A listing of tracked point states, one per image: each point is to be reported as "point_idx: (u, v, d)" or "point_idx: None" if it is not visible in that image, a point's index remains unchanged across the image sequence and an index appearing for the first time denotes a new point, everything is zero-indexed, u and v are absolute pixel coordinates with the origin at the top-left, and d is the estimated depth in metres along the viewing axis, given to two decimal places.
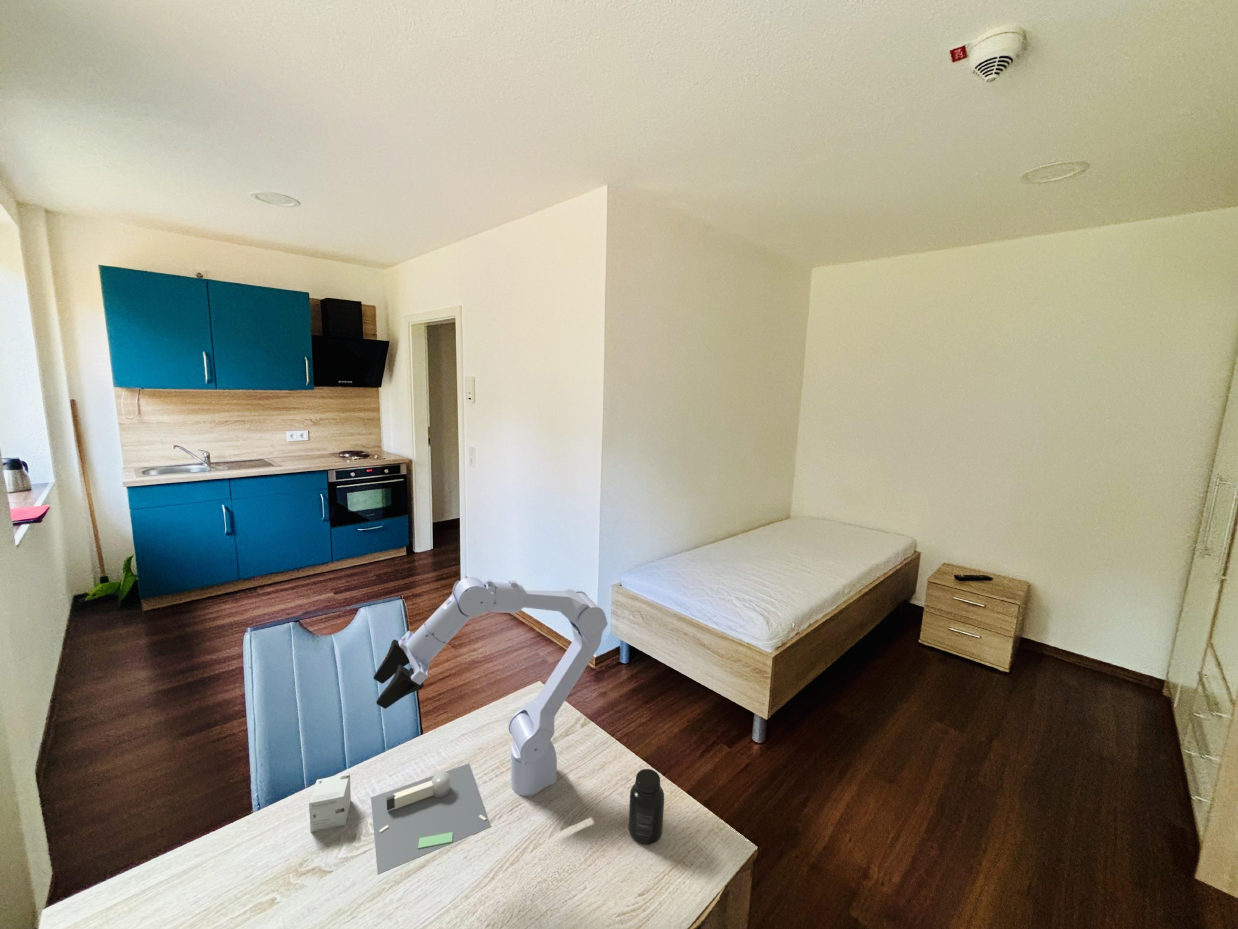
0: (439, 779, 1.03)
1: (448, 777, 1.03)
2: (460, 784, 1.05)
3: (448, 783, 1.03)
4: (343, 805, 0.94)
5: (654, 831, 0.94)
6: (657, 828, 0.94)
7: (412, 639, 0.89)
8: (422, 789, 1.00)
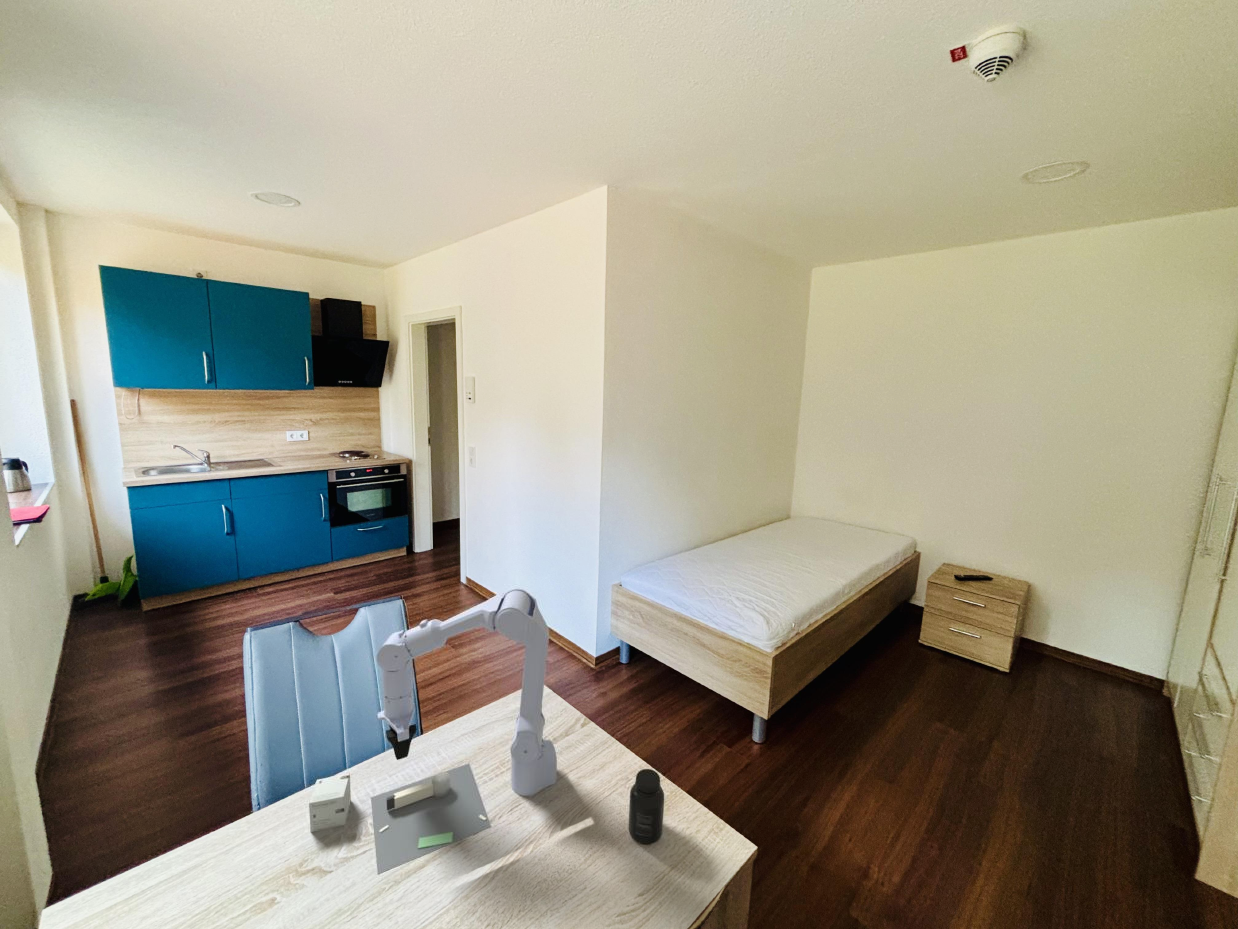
0: (439, 779, 1.03)
1: (448, 777, 1.03)
2: (460, 784, 1.05)
3: (448, 783, 1.03)
4: (343, 805, 0.94)
5: (654, 831, 0.94)
6: (657, 828, 0.94)
7: (384, 708, 1.00)
8: (422, 789, 1.00)
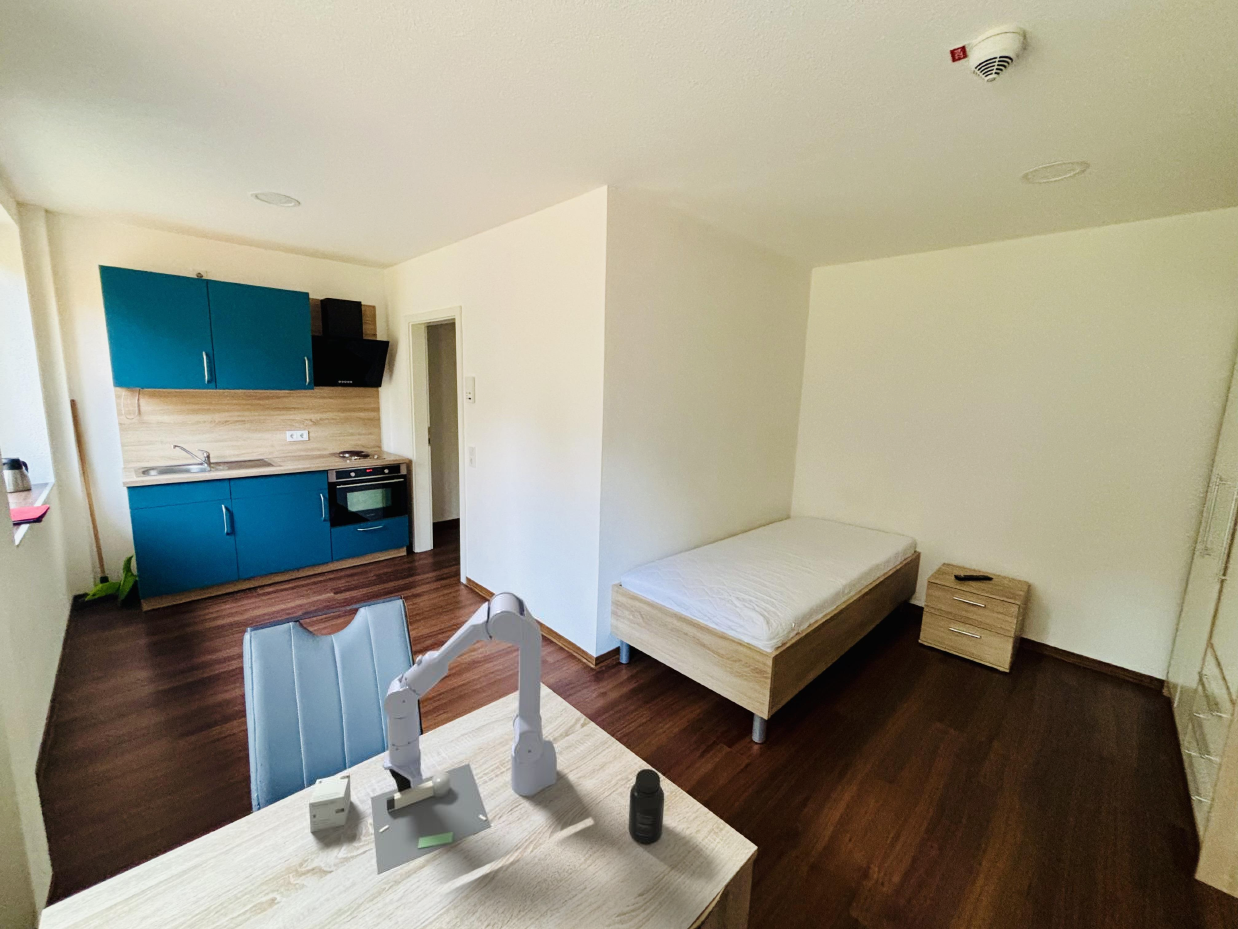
0: (439, 779, 1.03)
1: (448, 777, 1.03)
2: (460, 784, 1.05)
3: (448, 783, 1.03)
4: (343, 805, 0.94)
5: (654, 831, 0.94)
6: (657, 828, 0.94)
7: (390, 757, 0.97)
8: (422, 789, 1.00)
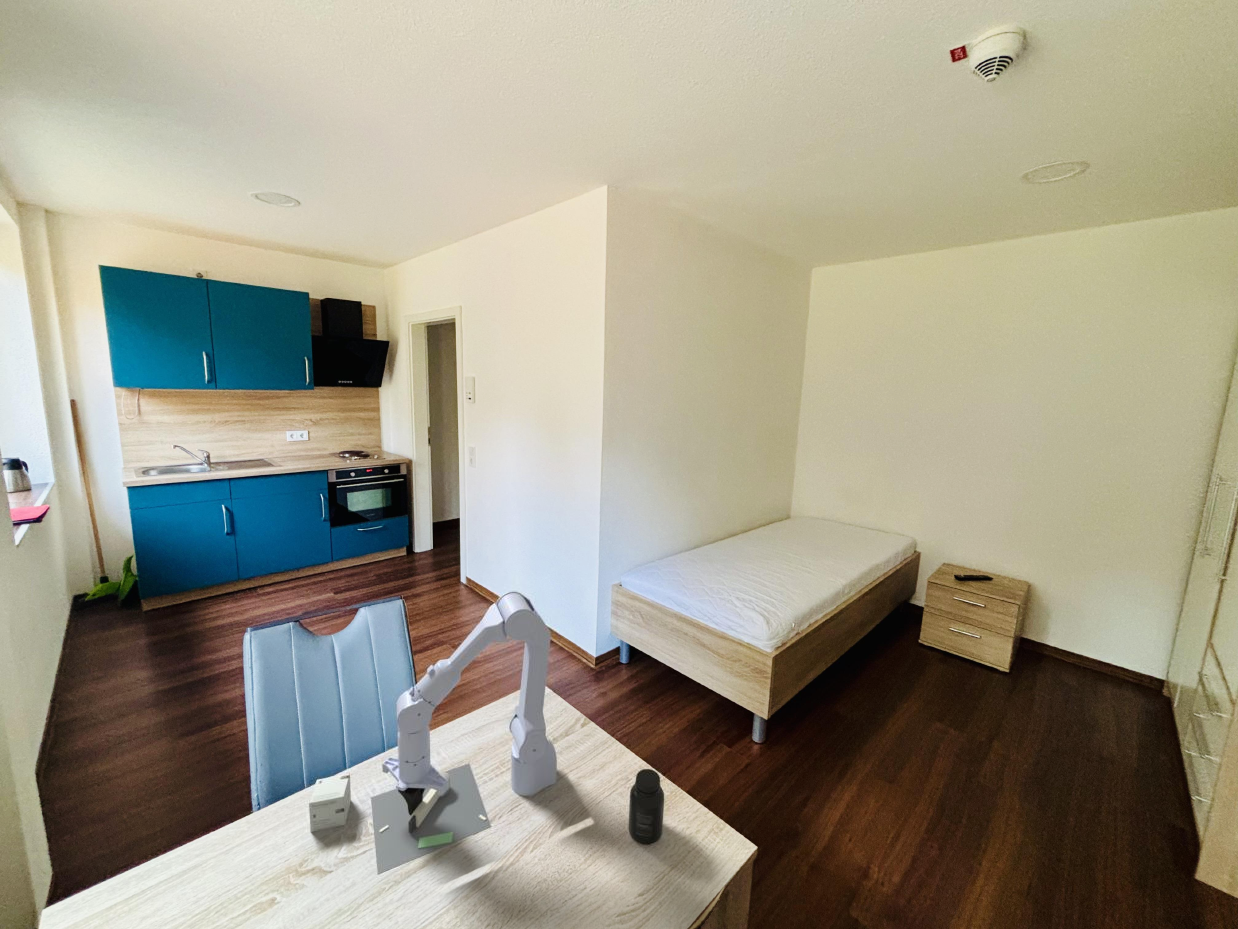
0: None
1: (446, 773, 1.04)
2: (460, 784, 1.05)
3: None
4: (343, 805, 0.94)
5: (654, 831, 0.94)
6: (657, 828, 0.94)
7: (405, 776, 0.92)
8: (433, 795, 0.99)
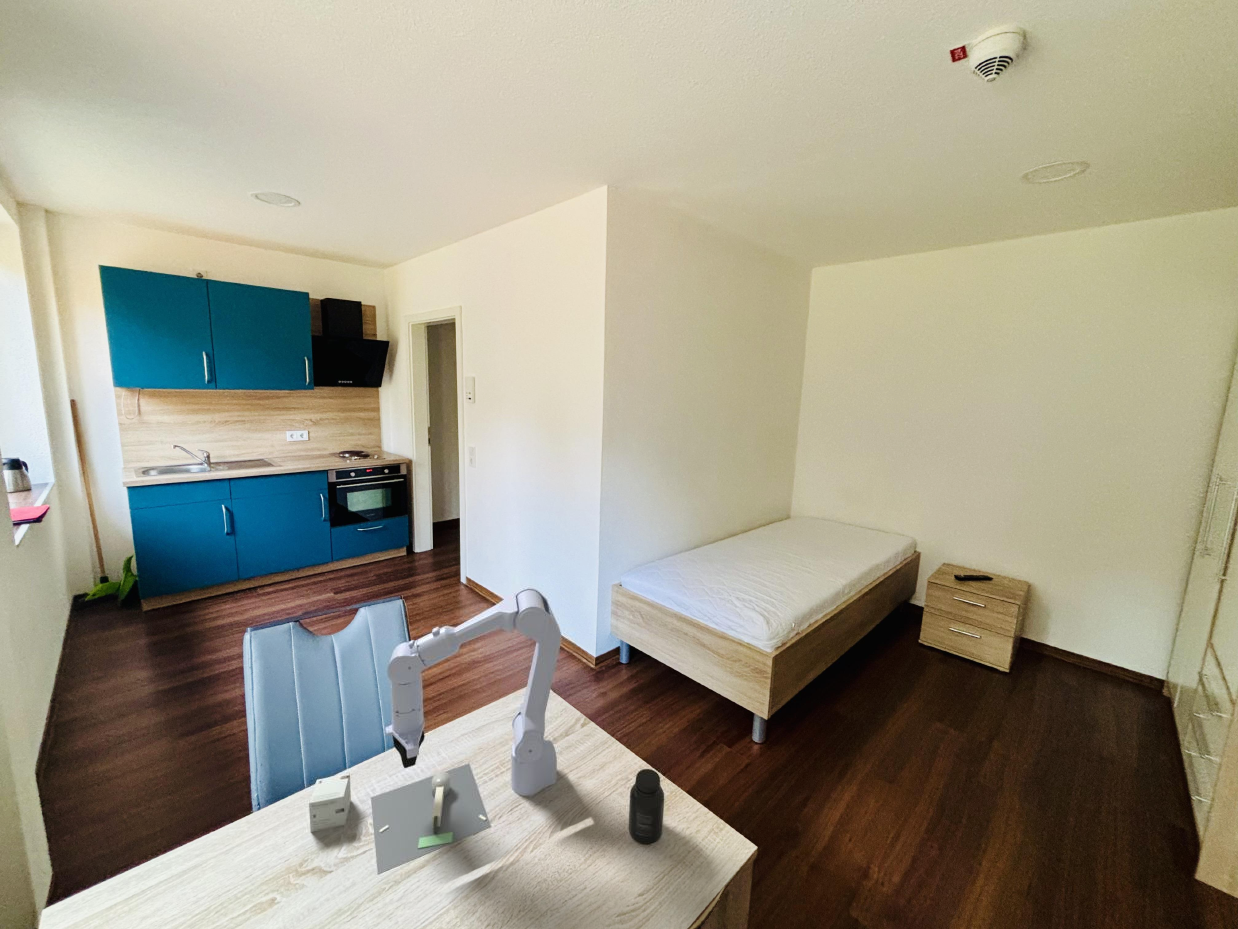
0: (440, 780, 1.03)
1: (443, 773, 1.04)
2: (460, 784, 1.05)
3: None
4: (343, 805, 0.94)
5: (654, 831, 0.94)
6: (657, 828, 0.94)
7: (392, 723, 0.95)
8: (442, 794, 0.99)
